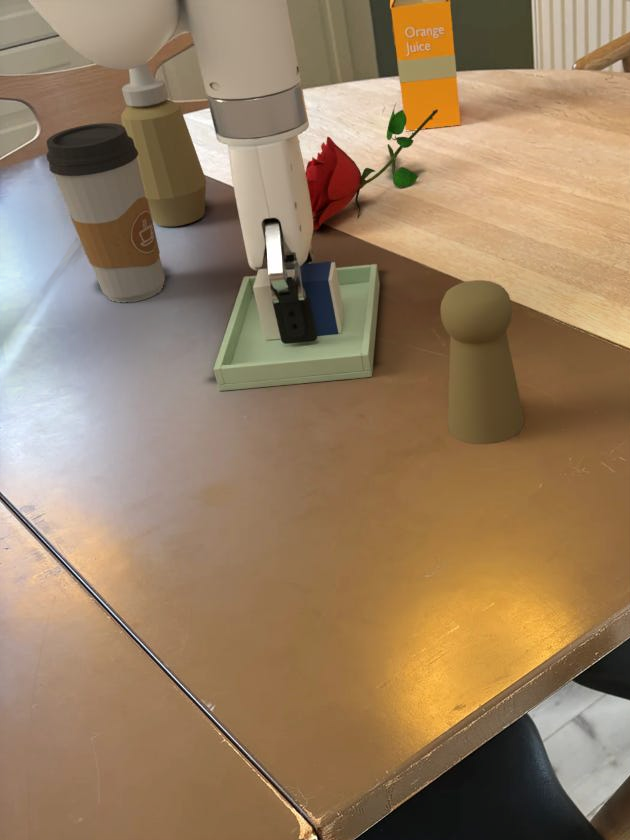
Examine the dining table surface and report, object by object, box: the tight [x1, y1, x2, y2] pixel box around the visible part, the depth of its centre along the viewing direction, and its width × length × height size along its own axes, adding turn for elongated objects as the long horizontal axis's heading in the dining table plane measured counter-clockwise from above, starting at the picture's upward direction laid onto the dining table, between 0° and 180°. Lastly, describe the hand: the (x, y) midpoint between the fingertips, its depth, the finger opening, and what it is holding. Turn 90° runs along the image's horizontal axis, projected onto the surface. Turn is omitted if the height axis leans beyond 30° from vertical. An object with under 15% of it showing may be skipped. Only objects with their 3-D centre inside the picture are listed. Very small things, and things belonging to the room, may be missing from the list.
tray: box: [213, 263, 381, 392], centre depth 93 cm, size 13×19×2 cm
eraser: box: [253, 261, 344, 340], centre depth 92 cm, size 7×4×5 cm, turn 92°
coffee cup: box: [46, 122, 166, 304], centre depth 100 cm, size 8×8×15 cm
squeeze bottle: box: [120, 62, 207, 227], centre depth 114 cm, size 8×8×18 cm
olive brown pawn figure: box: [439, 279, 525, 445], centre depth 76 cm, size 6×6×11 cm
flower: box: [305, 102, 438, 231], centre depth 118 cm, size 9×10×30 cm
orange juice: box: [389, 0, 461, 131], centre depth 134 cm, size 8×9×20 cm
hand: (303, 322), depth 93 cm, fingers open, 6 cm apart
